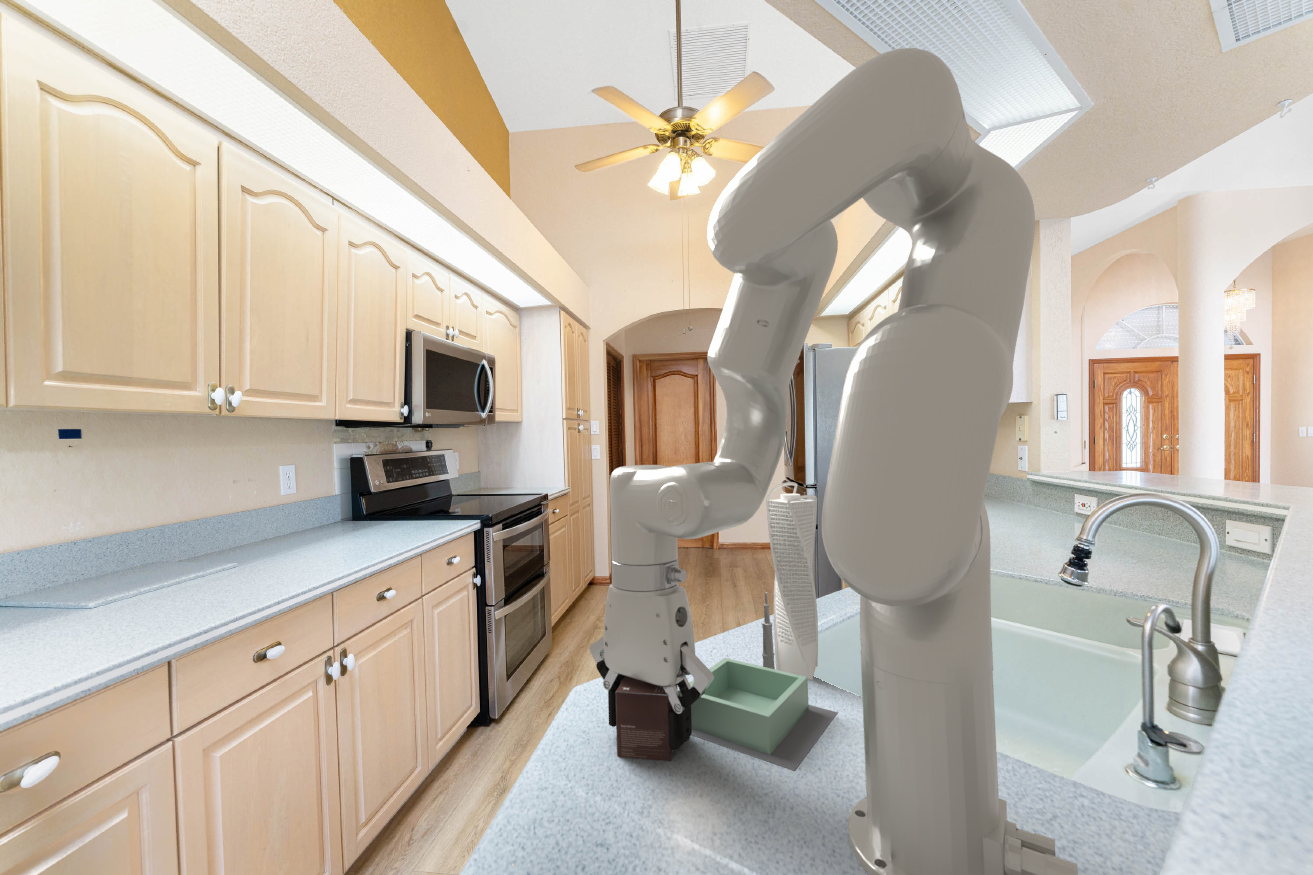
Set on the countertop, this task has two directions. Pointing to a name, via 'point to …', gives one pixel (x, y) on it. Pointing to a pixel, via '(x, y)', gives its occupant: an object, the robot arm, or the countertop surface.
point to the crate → (750, 704)
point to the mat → (786, 739)
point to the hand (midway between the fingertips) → (648, 731)
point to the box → (642, 720)
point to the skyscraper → (792, 585)
